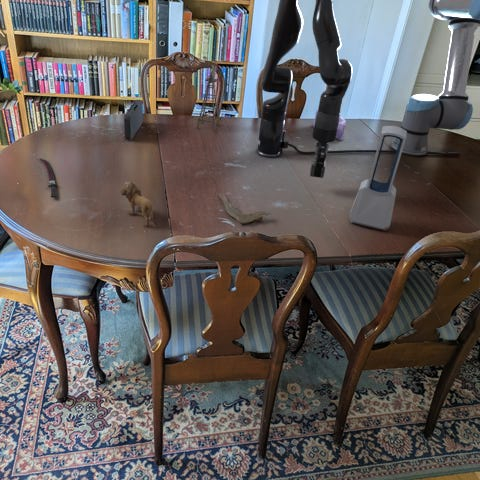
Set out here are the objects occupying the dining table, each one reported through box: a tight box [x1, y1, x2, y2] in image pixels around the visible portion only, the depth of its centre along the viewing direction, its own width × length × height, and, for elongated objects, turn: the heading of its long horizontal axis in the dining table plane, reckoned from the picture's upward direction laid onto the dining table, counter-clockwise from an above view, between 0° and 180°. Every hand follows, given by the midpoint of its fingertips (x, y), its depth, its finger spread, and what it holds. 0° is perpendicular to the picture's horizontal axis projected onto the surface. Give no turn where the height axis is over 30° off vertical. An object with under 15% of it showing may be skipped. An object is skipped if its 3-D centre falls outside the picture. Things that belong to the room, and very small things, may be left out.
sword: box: [40, 158, 59, 198], centre depth 151 cm, size 31×3×1 cm, turn 26°
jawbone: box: [218, 193, 271, 225], centre depth 143 cm, size 9×20×2 cm, turn 50°
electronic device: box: [348, 125, 407, 232], centre depth 137 cm, size 12×8×30 cm, turn 71°
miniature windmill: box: [196, 55, 220, 132], centre depth 197 cm, size 9×8×30 cm
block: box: [309, 160, 326, 179], centre depth 158 cm, size 4×4×4 cm
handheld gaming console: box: [123, 99, 144, 141], centre depth 190 cm, size 23×3×10 cm, turn 178°
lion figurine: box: [119, 181, 159, 227], centre depth 134 cm, size 15×5×9 cm, turn 50°
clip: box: [313, 109, 347, 141], centre depth 212 cm, size 20×12×7 cm, turn 11°
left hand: (316, 173), depth 159 cm, fingers closed on block, 4 cm apart
